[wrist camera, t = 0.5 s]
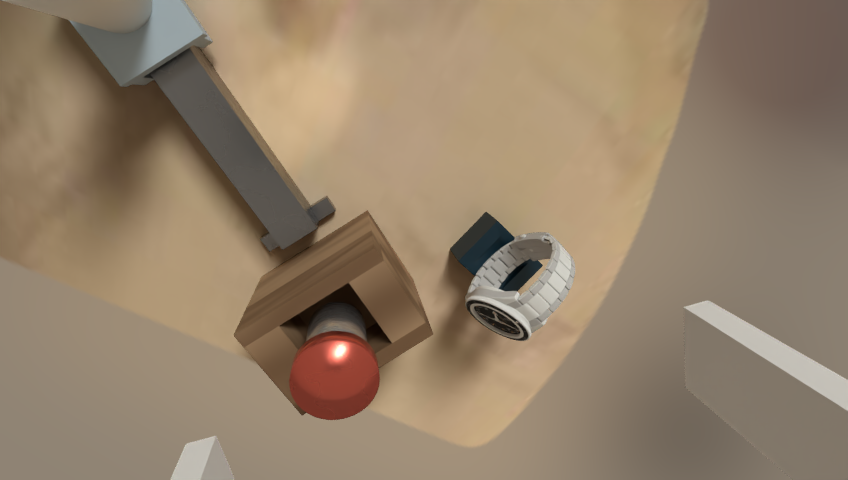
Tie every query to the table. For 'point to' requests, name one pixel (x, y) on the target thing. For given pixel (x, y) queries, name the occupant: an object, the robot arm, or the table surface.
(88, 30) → the carriage
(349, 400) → the button plunger
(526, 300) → the watch
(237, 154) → the rail
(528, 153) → the table surface
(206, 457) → the robot arm
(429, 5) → the table surface
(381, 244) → the wooden button housing
